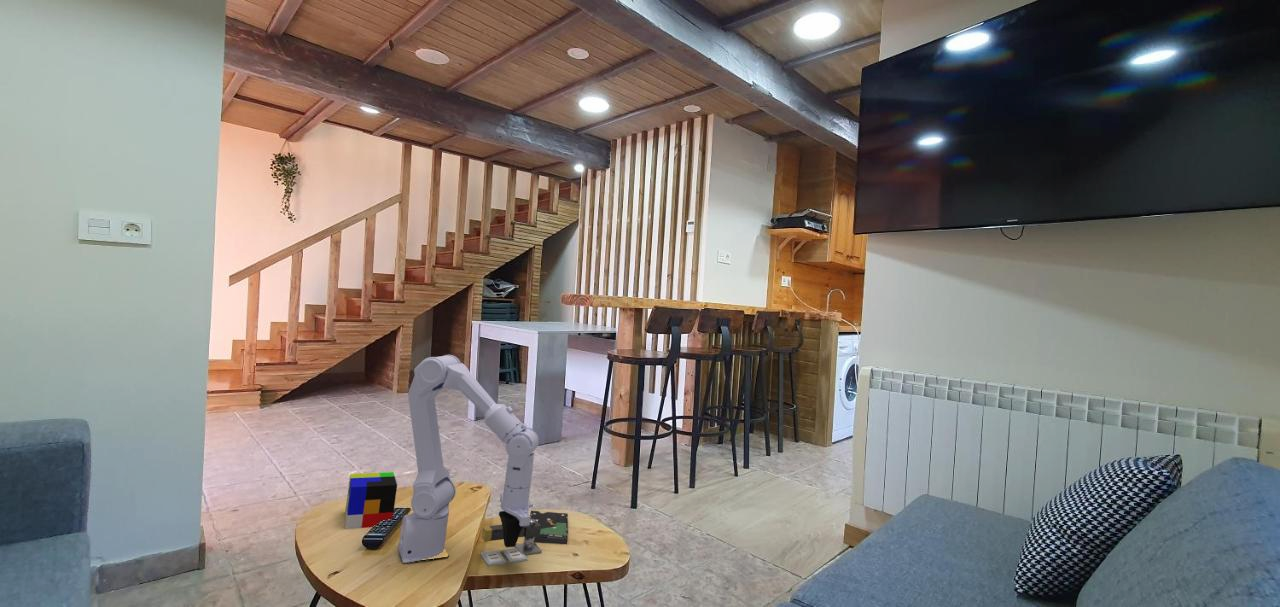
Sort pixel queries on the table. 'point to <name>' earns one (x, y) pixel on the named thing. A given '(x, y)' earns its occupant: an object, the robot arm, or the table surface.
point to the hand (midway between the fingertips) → (509, 545)
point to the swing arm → (497, 532)
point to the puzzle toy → (370, 499)
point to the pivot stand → (529, 544)
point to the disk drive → (551, 527)
